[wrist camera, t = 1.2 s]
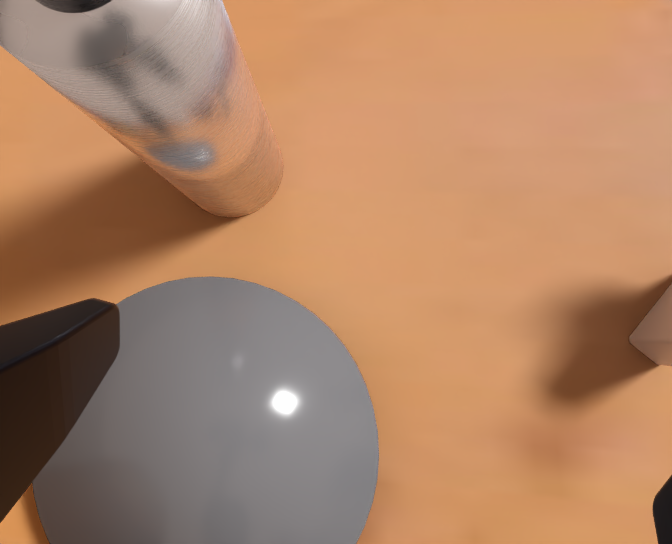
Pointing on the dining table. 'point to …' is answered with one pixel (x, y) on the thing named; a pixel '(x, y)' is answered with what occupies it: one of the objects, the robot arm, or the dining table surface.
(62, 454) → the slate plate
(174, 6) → the pepper mill
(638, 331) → the lighter
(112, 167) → the dining table surface
